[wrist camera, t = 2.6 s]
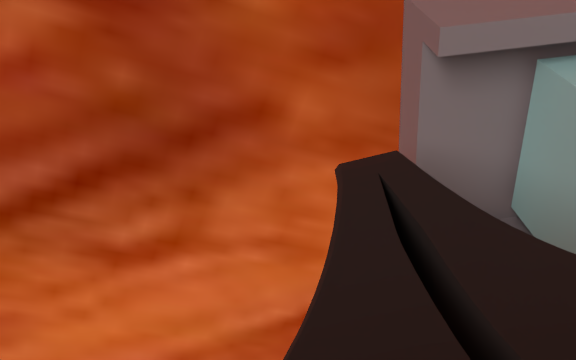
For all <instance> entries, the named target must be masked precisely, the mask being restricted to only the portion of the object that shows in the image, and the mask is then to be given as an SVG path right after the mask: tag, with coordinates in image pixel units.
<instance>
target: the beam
mask: <svg viewBox="0 0 576 360" xmlns="http://www.w3.org/2000/svg"><path fill="white" fill-rule="evenodd" d="M572 55H576V0H404V20H403V48H402V76H401V104H400V133H399V152H400V153H401V154H403V155H404V156H405V157H407V158H408V159H409V160H410V161H412V162H413V163H414V164H416V165H417V166H418V167H420V168H421V169H422V170H423V171H425V172H426V173H428V174H429V175H430V176H432V177H433V178H434V179H436V180H437V181H439V182H440V183H441V184H443V185H444V186H446V187H447V188H449V189H450V190H452V191H453V192H455V193H456V194H458V195H459V196H461V197H462V198H464V199H465V200H467V201H468V202H470V203H472V204H473V205H475V206H476V207H478V208H480V209H481V210H483V211H485V212H487V213H488V214H490V215H492V216H494V217H495V218H497V219H499V220H501V221H503V222H505V223H507V224H509V225H510V226H512V227H515V228H517V229H519V230H521V231H523V232H525V233H527V234H529V235H532V233H531V232H530V231H529V229H528V228H527V227H526V226H525V224H524V223H523V222H522V220H521V219H520V218H519V216H518V215H517V214H516V213H515V211H514V210H513V209H512V207H511V204H512V199H513V193H514V188H515V182H516V177H517V171H518V165H519V160H520V154H521V149H522V143H523V138H524V132H525V126H526V121H527V115H528V110H529V104H530V99H531V93H532V88H533V82H534V76H535V71H536V65H537V60H538V59H546V58H554V57H563V56H572ZM532 236H533V235H532Z"/></svg>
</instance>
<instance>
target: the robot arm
mask: <svg viewBox="0 0 576 360" xmlns="http://www.w3.org/2000/svg"><path fill="white" fill-rule="evenodd" d="M335 174H336V179H337V185H338V192H337V206H336V214H335V221H334V228H333V232H332V237H331V241H330V246H329V250H328V254H327V258H326V261H325V265H324V268H323V271H322V275H321V278H320V280H319V283H318V286H317V289H316V292H315V294H314V297H313V299H312V302H311V304H310V306H309V309H308V311H307V314H306V316H305V318H304V320H303V323H302V325H301V327H300V329H299V331H298V333H297V335H296V337H295V339H294V341H293V342H292V344H291V346H290V348H289V350H288V352H287V354H286V355H285V357H284V359H283V360H576V254H574V253H572V252H569V251H566V250H564V249H561V248H559V247H556V246H554V245H552V244H549V243H547V242H544V241H542V240H540V239H538V238H536V237H534V236H532V235H529V234H527V233H525V232H523V231H521V230H519V229H517V228H515V227H512V226H510V225H509V224H507V223H505V222H503V221H501V220H499V219H497V218H495V217H494V216H492V215H490V214H488V213H487V212H485V211H483V210H481V209H480V208H478V207H476V206H475V205H473V204H472V203H470V202H468V201H467V200H465V199H464V198H462V197H461V196H459V195H458V194H456V193H455V192H453V191H452V190H450V189H449V188H447V187H446V186H444V185H443V184H441V183H440V182H439V181H437V180H436V179H434V178H433V177H432V176H430V175H429V174H428V173H426V172H425V171H423V170H422V169H421V168H420V167H418V166H417V165H416V164H414V163H413V162H412V161H410V160H409V159H408V158H407V157H405V156H404V155H403V154H401V153H400V152H398V151H393V152H389V153H384V154H380V155H376V156H372V157H367V158H363V159H359V160H355V161H350V162H346V163H342V164H339V165H338V166H337V168H336V169H335Z"/></svg>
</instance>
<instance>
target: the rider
mask: <svg viewBox="0 0 576 360" xmlns="http://www.w3.org/2000/svg"><path fill="white" fill-rule="evenodd" d="M511 207H512V209H513V210H514V211H515V213H516V214H517V215H518V216H519V218H520V219H521V220H522V222H523V223H524V224H525V226H526V227H527V228H528V229H529V231H530V232H531V233H532V235H533V236H534V237H536V238H538V239H540V240H542V241H544V242H547V243H549V244H552V245H554V246H556V247H559V248H561V249H564V250H566V251H569V252H572V253H574V254H576V55H572V56H563V57H554V58H546V59H538V60H537V65H536V71H535V76H534V82H533V88H532V93H531V99H530V104H529V110H528V115H527V121H526V126H525V132H524V138H523V143H522V149H521V154H520V160H519V165H518V171H517V177H516V182H515V188H514V193H513V199H512V204H511Z"/></svg>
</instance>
